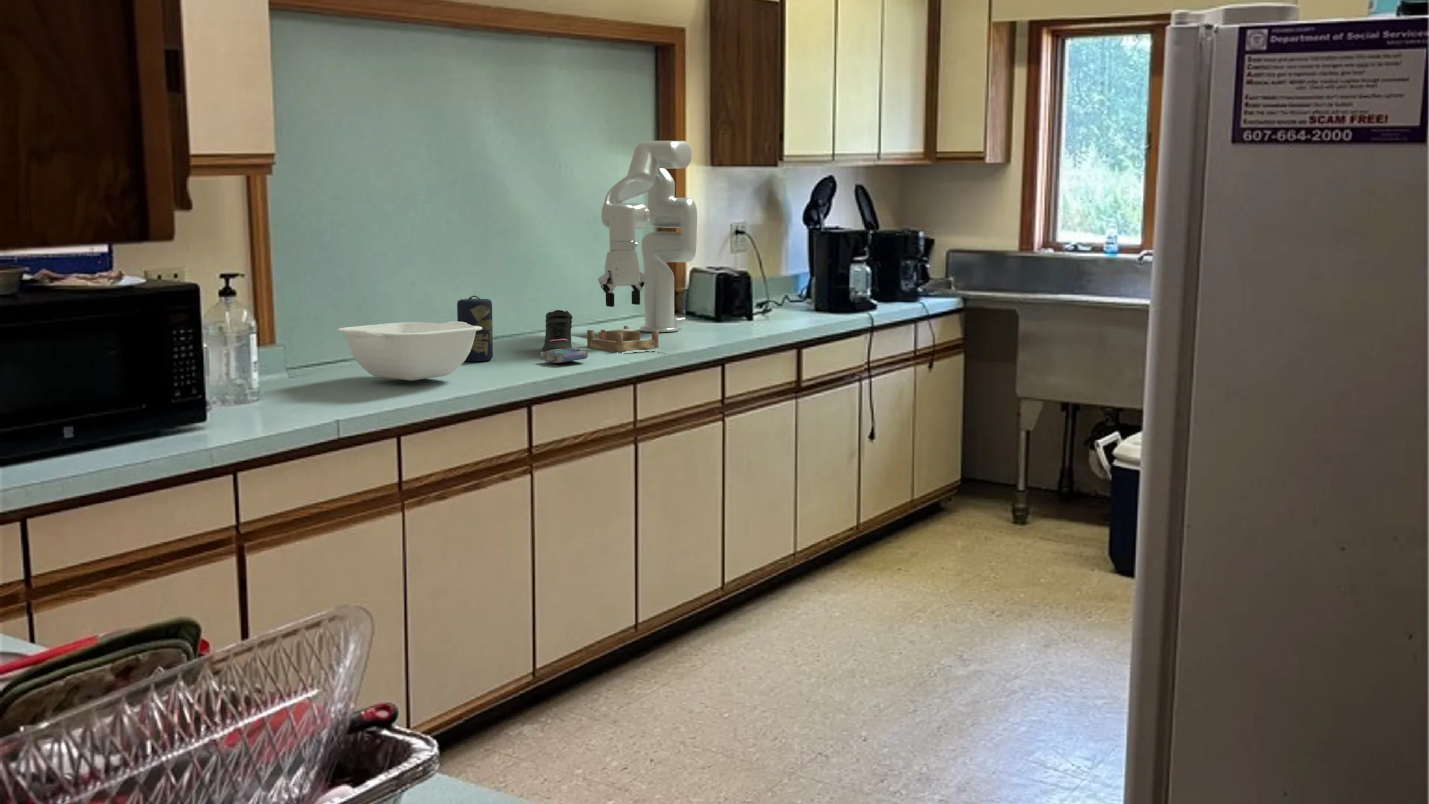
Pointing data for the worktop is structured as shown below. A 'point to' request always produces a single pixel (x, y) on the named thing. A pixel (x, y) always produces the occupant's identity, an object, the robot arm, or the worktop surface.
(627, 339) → the seat block
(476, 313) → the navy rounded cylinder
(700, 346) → the worktop surface
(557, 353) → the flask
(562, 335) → the sneaker
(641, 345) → the frame
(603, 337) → the rail
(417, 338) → the white bowl
